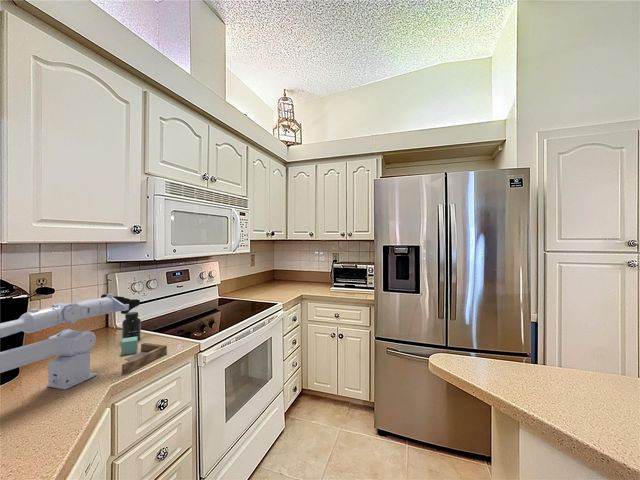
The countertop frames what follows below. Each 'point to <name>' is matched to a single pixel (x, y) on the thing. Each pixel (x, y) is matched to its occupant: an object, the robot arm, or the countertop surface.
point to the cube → (129, 345)
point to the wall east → (152, 347)
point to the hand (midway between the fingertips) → (131, 300)
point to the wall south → (142, 360)
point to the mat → (135, 356)
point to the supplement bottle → (131, 325)
